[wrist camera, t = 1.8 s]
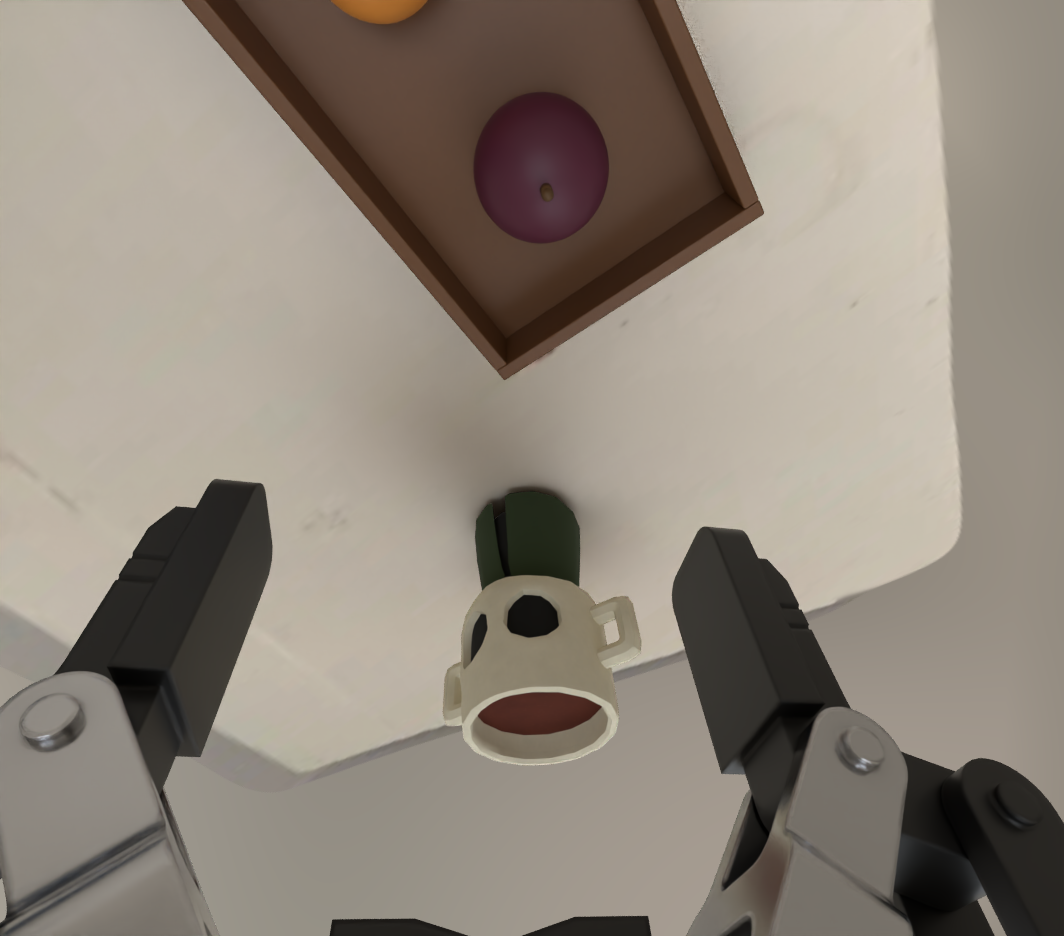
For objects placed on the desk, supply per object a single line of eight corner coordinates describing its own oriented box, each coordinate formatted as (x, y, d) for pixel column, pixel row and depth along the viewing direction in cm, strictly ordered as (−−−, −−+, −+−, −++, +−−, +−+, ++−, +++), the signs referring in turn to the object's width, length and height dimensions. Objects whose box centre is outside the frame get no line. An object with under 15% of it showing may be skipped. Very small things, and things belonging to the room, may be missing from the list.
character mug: (575, 444, 33) (613, 649, 23) (631, 521, 37) (685, 724, 27) (418, 526, 36) (391, 736, 26) (486, 587, 40) (484, 791, 30)
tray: (132, -106, 18) (79, -119, 16) (438, -501, 14) (428, -598, 12) (503, 347, 29) (504, 381, 26) (738, 191, 25) (765, 214, 22)
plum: (448, 139, 22) (439, 177, 18) (554, 51, 21) (571, 69, 17) (521, 244, 25) (528, 298, 21) (620, 172, 24) (650, 215, 19)
